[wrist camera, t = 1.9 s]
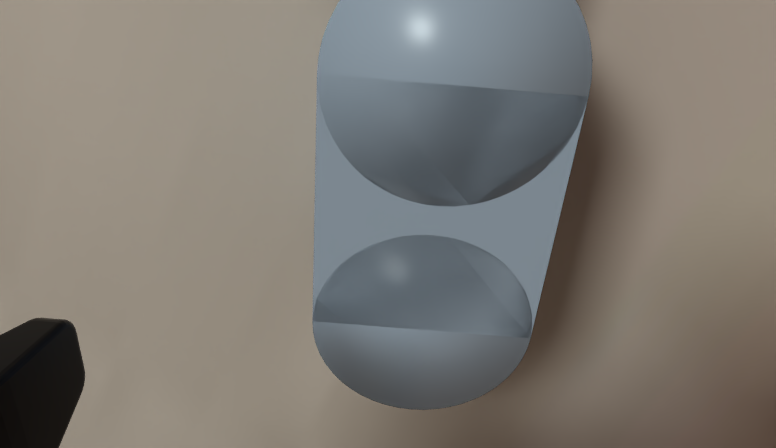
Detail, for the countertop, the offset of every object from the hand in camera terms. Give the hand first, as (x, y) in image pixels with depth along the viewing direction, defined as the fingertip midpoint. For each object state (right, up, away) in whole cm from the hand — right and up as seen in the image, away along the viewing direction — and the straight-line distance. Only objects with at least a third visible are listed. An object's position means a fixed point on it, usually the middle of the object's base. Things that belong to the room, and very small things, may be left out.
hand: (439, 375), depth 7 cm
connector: (0, +5, +7) cm, 9 cm away
